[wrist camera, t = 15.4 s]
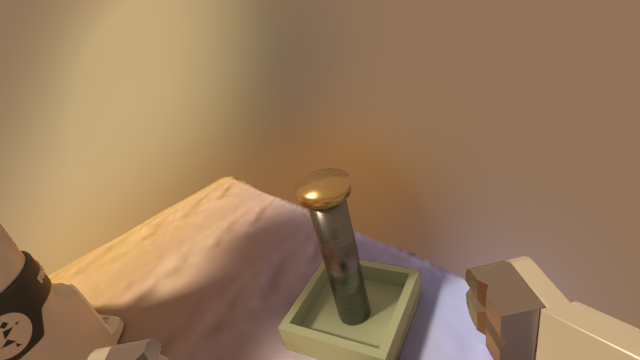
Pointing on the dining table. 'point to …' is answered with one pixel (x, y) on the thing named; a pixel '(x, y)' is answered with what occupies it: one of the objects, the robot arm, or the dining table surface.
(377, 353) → the tray
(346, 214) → the lock pin
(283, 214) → the dining table surface
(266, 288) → the dining table surface
